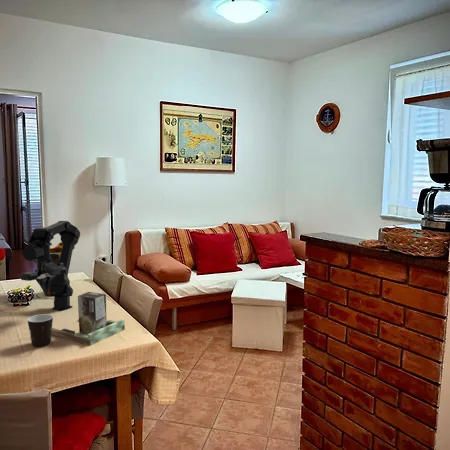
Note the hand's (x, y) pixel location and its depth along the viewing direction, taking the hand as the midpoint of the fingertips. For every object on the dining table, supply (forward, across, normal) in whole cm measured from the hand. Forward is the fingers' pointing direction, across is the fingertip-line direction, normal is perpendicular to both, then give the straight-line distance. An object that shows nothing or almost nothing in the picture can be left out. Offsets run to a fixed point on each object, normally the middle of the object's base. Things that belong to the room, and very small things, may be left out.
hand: (45, 293), depth 179 cm
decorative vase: (+10, +26, +31) cm, 42 cm away
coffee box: (+14, -1, -29) cm, 32 cm away
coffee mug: (+14, -19, -21) cm, 31 cm away
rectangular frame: (+14, 0, -24) cm, 28 cm away
